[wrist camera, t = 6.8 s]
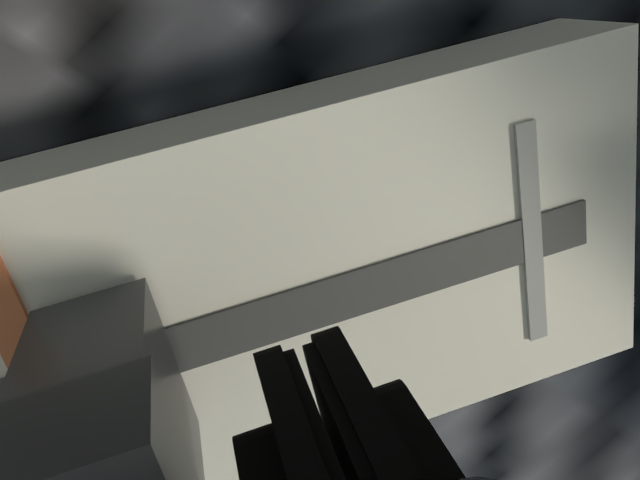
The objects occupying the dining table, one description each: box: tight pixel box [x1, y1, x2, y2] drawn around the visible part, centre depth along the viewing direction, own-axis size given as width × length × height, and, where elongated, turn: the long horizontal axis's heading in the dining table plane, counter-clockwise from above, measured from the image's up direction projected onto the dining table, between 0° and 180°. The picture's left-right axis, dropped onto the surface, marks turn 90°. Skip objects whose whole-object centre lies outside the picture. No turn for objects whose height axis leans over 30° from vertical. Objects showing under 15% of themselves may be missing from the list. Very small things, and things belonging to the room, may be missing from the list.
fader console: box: [0, 18, 639, 480], centre depth 15 cm, size 9×22×3 cm, turn 102°
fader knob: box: [0, 278, 205, 480], centre depth 11 cm, size 5×3×6 cm, turn 12°
